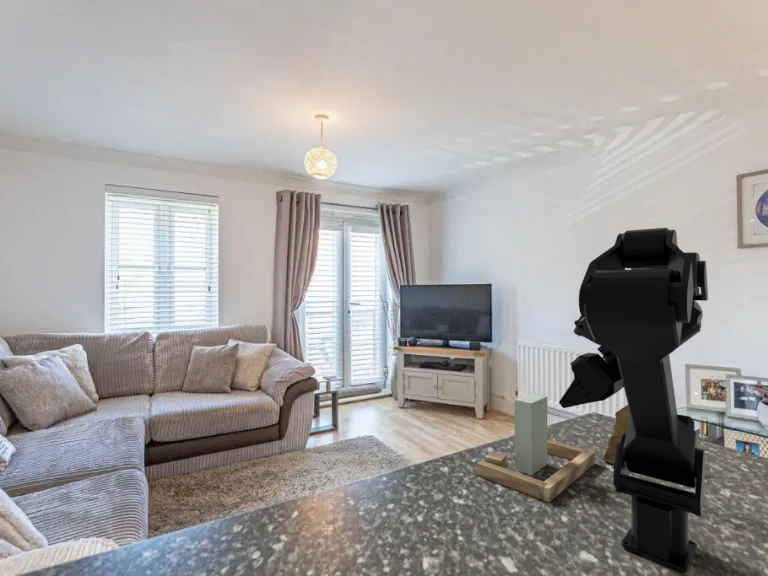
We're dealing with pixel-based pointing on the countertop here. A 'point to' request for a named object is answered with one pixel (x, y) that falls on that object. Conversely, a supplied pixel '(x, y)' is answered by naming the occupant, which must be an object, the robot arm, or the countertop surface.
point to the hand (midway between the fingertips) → (573, 399)
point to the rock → (617, 433)
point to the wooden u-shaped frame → (553, 484)
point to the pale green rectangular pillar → (530, 433)
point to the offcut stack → (497, 459)
